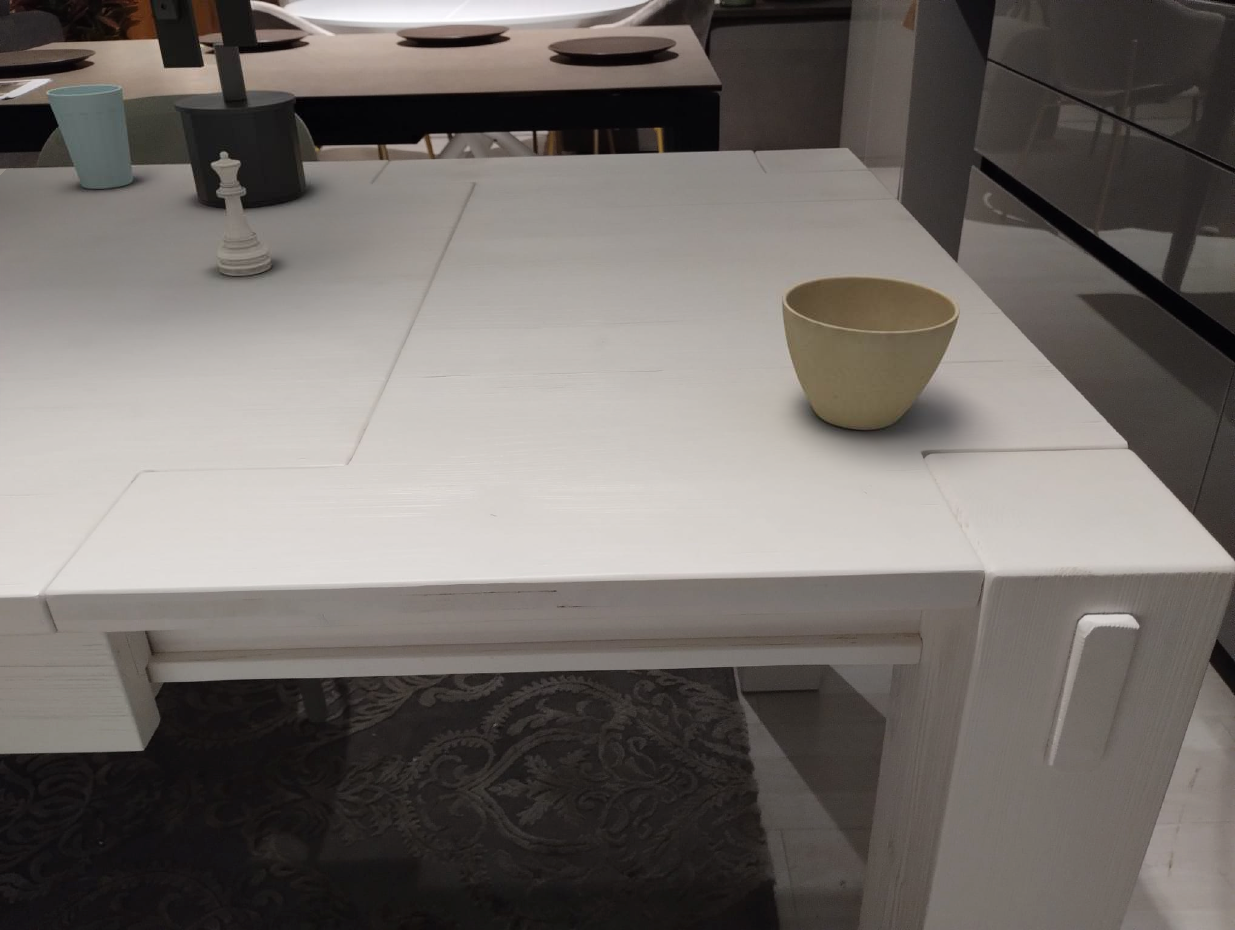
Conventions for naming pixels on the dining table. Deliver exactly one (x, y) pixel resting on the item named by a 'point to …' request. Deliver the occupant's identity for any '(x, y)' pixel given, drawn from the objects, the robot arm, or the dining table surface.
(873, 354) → the flower pot
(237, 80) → the pot lid
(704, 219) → the dining table surface
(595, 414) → the dining table surface
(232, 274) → the chess piece
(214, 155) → the pot
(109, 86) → the cup
